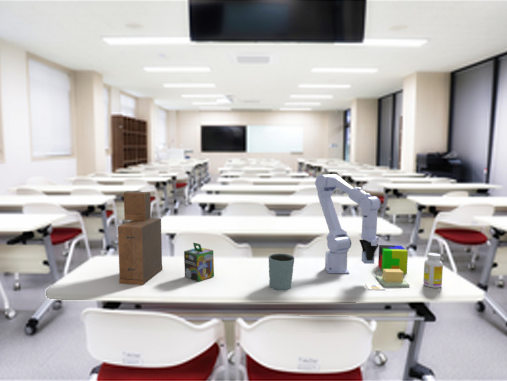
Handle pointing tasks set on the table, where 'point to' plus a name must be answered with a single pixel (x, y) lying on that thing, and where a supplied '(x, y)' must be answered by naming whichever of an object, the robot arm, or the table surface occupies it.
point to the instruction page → (375, 287)
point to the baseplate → (392, 283)
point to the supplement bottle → (433, 270)
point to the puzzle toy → (393, 257)
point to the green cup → (280, 271)
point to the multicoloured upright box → (199, 263)
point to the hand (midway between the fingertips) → (367, 258)
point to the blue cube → (366, 258)
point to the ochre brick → (392, 275)
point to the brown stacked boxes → (139, 241)
